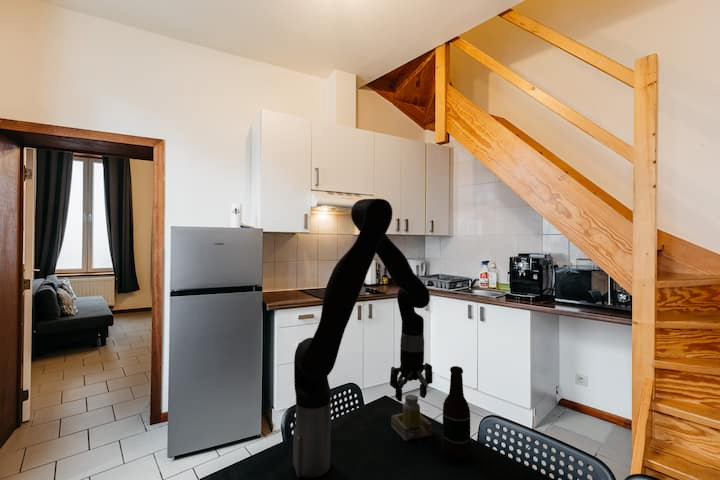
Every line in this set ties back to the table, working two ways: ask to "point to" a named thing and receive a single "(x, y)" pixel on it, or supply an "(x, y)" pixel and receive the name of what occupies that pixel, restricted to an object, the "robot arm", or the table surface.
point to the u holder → (404, 430)
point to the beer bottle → (456, 418)
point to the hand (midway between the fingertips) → (411, 398)
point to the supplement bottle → (411, 413)
